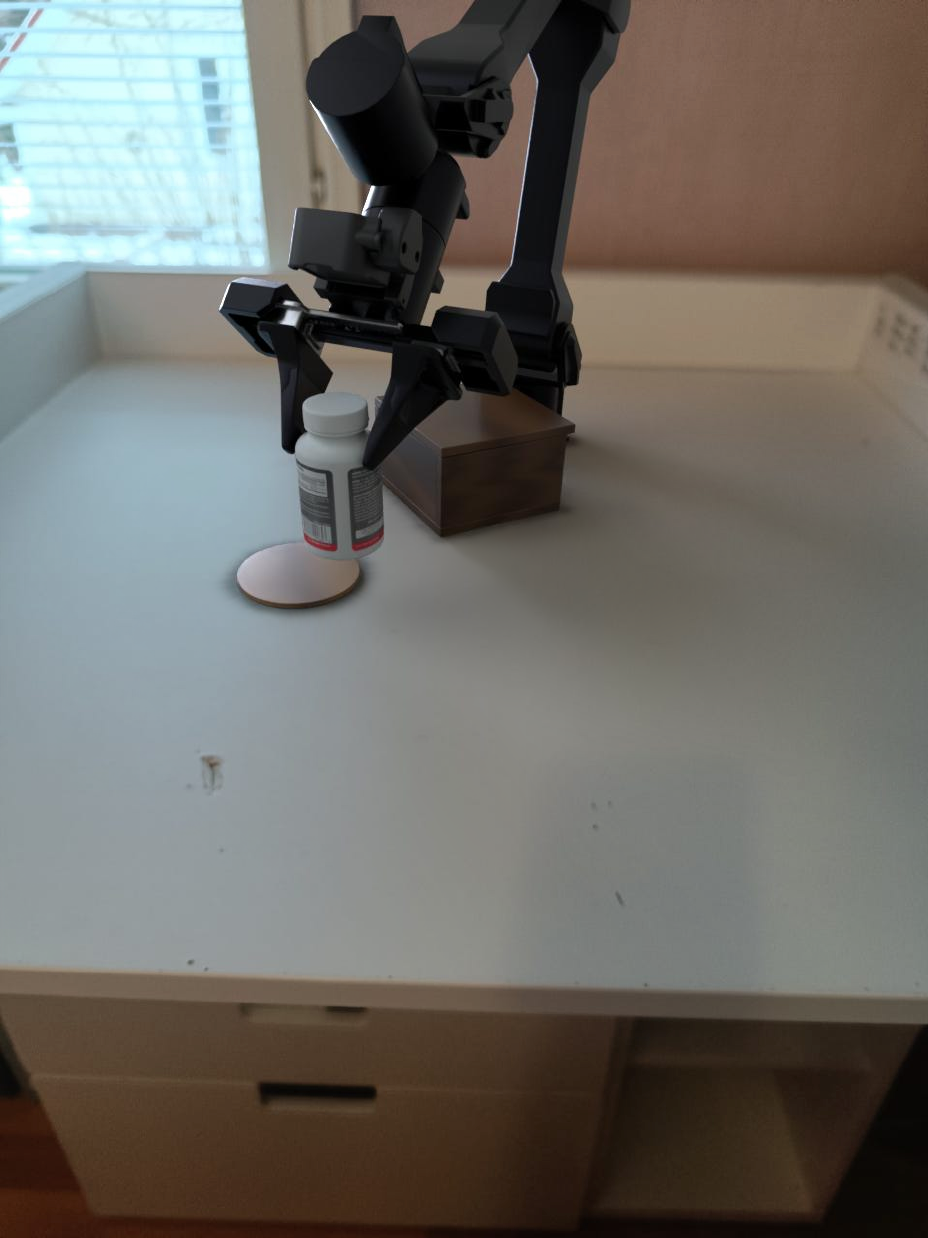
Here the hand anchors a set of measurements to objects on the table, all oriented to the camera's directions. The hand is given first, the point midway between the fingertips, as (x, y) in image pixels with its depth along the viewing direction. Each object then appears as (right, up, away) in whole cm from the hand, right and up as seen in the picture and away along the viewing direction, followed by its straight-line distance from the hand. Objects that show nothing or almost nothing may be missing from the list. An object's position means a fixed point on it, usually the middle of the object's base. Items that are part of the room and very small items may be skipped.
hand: (326, 459), depth 54 cm
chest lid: (+9, +7, +20) cm, 23 cm away
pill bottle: (0, -5, +5) cm, 7 cm away
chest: (+9, +1, +24) cm, 25 cm away
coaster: (-4, -7, +11) cm, 13 cm away
